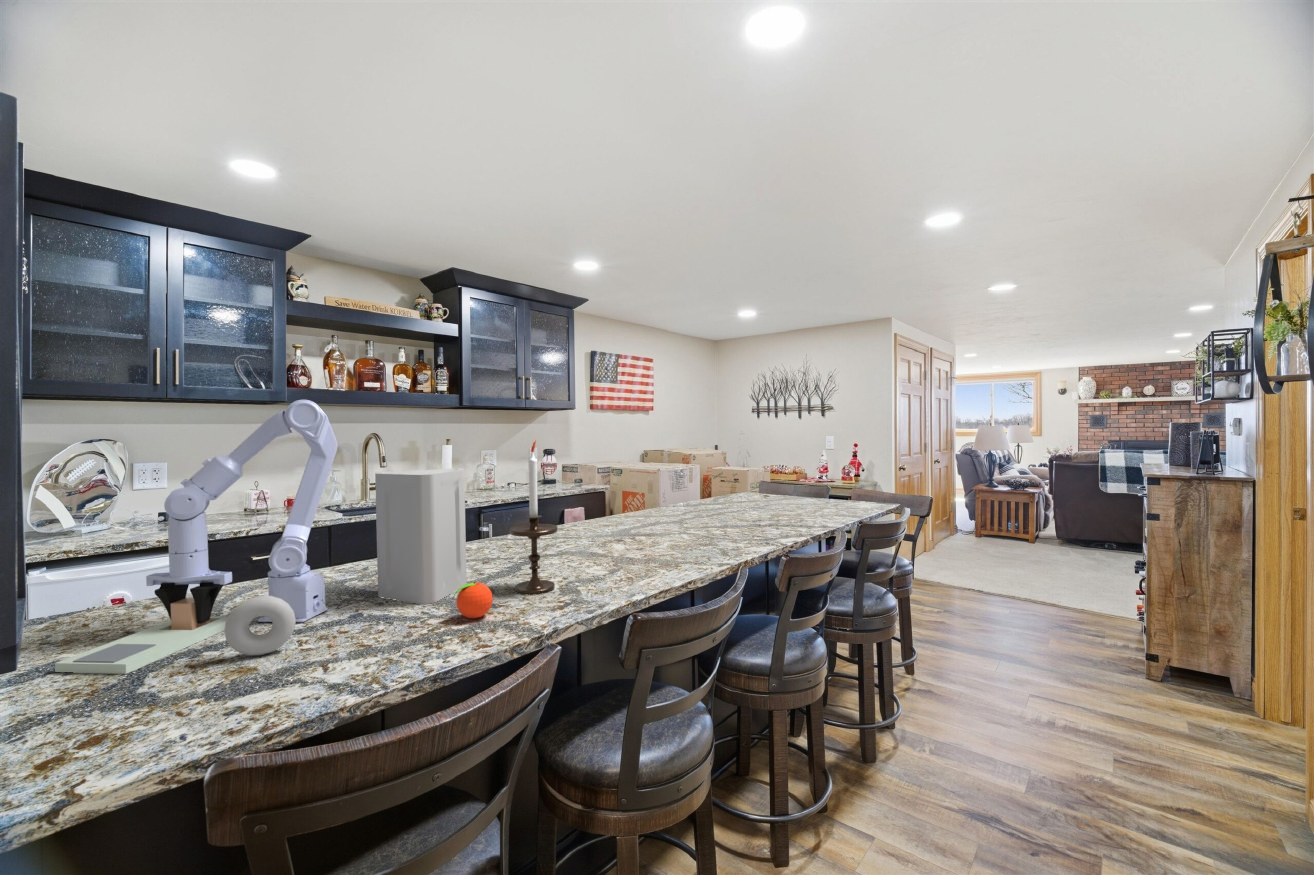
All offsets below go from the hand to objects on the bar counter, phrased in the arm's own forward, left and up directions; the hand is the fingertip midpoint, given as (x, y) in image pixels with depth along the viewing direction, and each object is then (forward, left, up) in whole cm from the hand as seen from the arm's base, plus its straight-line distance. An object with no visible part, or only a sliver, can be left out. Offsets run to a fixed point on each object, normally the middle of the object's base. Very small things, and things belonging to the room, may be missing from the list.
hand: (191, 622), depth 107 cm
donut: (-22, +10, -2) cm, 24 cm away
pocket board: (0, +7, -2) cm, 7 cm away
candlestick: (-58, -29, -2) cm, 65 cm away
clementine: (-51, -9, -2) cm, 52 cm away
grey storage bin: (-34, -24, -2) cm, 42 cm away
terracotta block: (0, 0, -2) cm, 2 cm away
